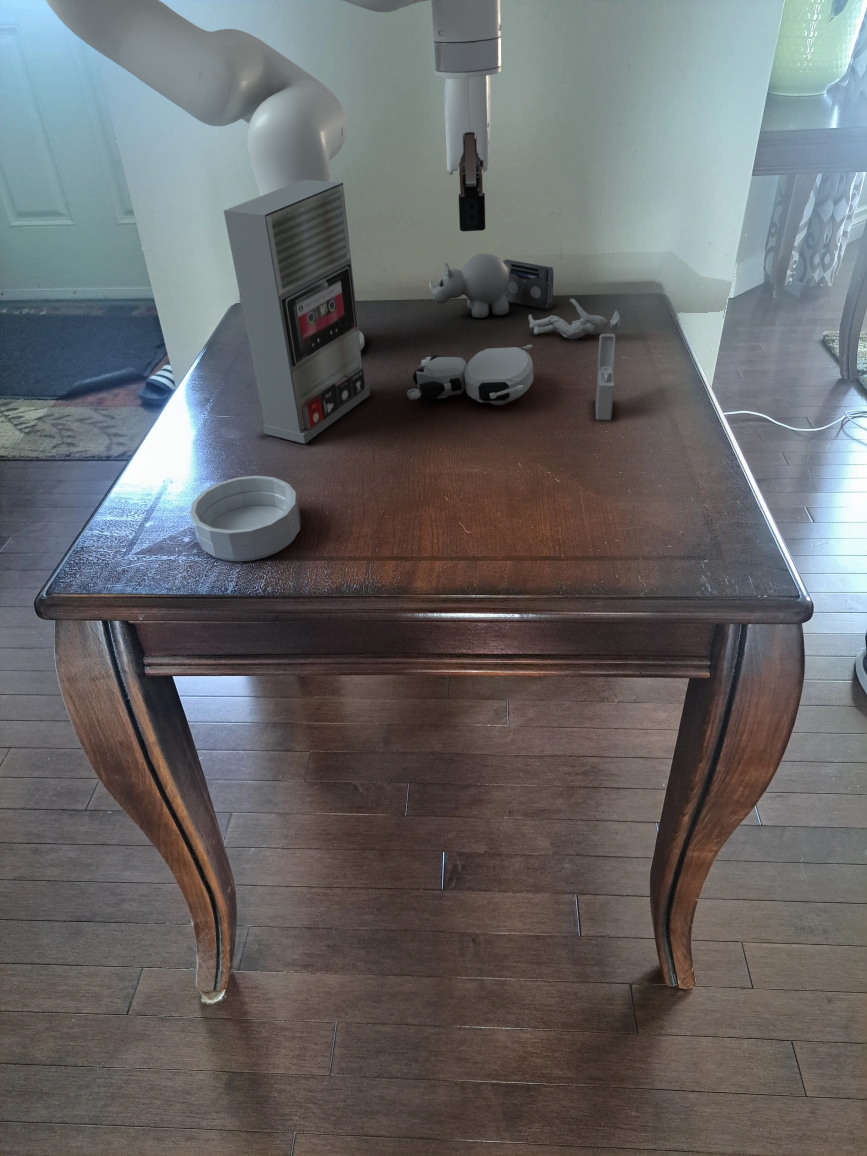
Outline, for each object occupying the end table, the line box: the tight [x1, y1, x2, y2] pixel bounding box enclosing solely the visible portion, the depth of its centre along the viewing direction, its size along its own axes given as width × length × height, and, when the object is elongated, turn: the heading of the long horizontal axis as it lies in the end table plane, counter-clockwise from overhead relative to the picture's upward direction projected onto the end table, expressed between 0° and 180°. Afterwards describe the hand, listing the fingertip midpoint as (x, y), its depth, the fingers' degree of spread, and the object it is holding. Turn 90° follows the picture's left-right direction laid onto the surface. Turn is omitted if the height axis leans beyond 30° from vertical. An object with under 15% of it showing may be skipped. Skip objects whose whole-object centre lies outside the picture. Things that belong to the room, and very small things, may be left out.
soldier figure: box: [527, 298, 621, 340], centre depth 115 cm, size 8×5×12 cm
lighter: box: [595, 333, 616, 421], centre depth 97 cm, size 7×2×8 cm, turn 172°
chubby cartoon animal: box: [428, 252, 510, 319], centre depth 123 cm, size 7×12×8 cm, turn 97°
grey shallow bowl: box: [189, 475, 302, 562], centre depth 81 cm, size 10×10×4 cm
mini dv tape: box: [502, 258, 555, 311], centre depth 126 cm, size 8×2×6 cm, turn 52°
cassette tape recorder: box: [223, 179, 371, 445], centre depth 93 cm, size 14×6×25 cm, turn 151°
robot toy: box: [406, 344, 535, 406], centre depth 102 cm, size 12×4×15 cm
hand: (472, 228), depth 104 cm, fingers closed
